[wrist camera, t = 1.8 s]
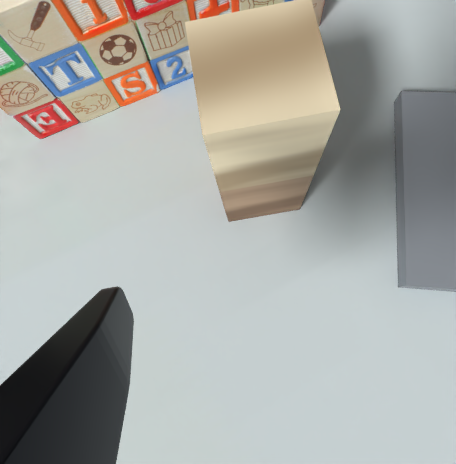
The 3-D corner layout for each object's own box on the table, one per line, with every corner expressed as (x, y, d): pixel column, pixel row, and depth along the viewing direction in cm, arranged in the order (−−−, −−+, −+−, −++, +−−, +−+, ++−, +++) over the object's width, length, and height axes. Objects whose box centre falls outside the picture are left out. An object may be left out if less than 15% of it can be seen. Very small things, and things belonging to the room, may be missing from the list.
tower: (299, 209, 22) (340, 109, 11) (228, 221, 22) (202, 135, 12) (285, 144, 23) (310, -4, 12) (217, 156, 23) (184, 22, 13)
